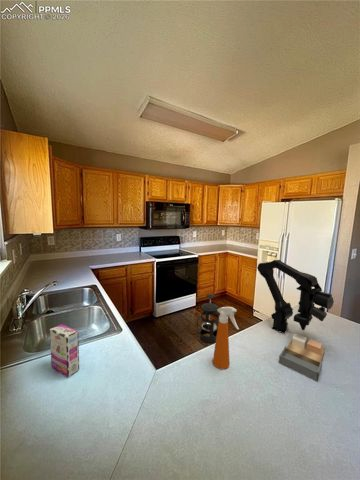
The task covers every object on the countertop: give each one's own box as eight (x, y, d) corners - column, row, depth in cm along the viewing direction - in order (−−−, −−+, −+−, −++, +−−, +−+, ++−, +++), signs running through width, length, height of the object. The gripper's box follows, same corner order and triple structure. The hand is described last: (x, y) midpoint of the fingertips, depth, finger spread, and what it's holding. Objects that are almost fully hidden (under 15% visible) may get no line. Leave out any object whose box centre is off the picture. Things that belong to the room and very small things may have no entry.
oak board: (285, 353, 92) (286, 348, 92) (293, 340, 101) (293, 336, 101) (319, 368, 83) (320, 362, 83) (324, 353, 93) (324, 348, 92)
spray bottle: (230, 378, 77) (234, 313, 74) (209, 362, 85) (212, 303, 82) (240, 369, 81) (244, 308, 78) (219, 355, 89) (222, 299, 86)
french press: (216, 332, 107) (218, 291, 104) (221, 343, 98) (224, 298, 95) (194, 333, 106) (196, 291, 103) (198, 344, 96) (200, 299, 94)
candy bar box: (80, 369, 79) (79, 330, 77) (68, 378, 74) (66, 337, 73) (63, 359, 84) (61, 323, 82) (50, 367, 80) (48, 328, 78)
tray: (278, 362, 86) (279, 355, 85) (284, 352, 92) (285, 345, 92) (317, 381, 76) (318, 373, 76) (321, 368, 83) (322, 361, 82)
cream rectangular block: (291, 343, 95) (292, 338, 95) (294, 339, 99) (295, 333, 98) (304, 348, 92) (304, 342, 91) (306, 343, 95) (306, 338, 95)
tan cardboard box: (306, 349, 91) (307, 343, 91) (308, 344, 95) (309, 338, 94) (319, 355, 88) (320, 348, 87) (321, 349, 91) (322, 343, 91)
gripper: (323, 312, 87) (319, 345, 88) (328, 300, 100) (325, 329, 102) (294, 304, 94) (291, 335, 96) (303, 293, 108) (300, 320, 110)
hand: (303, 330), depth 101 cm, fingers closed
